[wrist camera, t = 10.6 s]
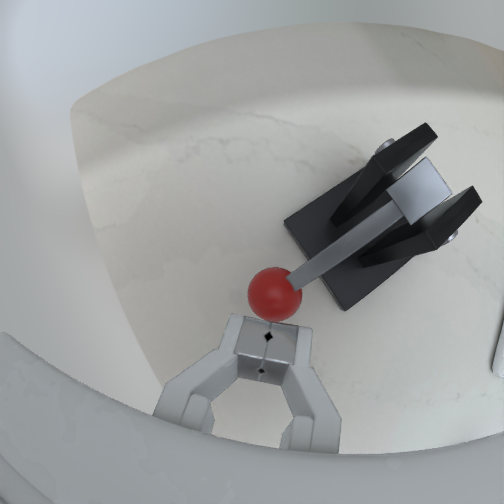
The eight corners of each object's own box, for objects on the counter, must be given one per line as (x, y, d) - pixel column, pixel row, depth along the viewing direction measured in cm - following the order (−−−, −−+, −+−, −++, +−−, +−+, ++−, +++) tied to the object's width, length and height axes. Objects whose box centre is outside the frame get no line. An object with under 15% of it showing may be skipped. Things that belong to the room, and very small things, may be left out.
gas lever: (282, 317, 20) (257, 338, 17) (256, 277, 21) (227, 292, 18) (451, 203, 12) (463, 206, 9) (415, 153, 13) (417, 141, 10)
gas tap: (341, 310, 22) (406, 335, 10) (283, 224, 24) (284, 157, 11) (428, 239, 22) (520, 204, 9) (374, 163, 23) (430, 79, 11)
